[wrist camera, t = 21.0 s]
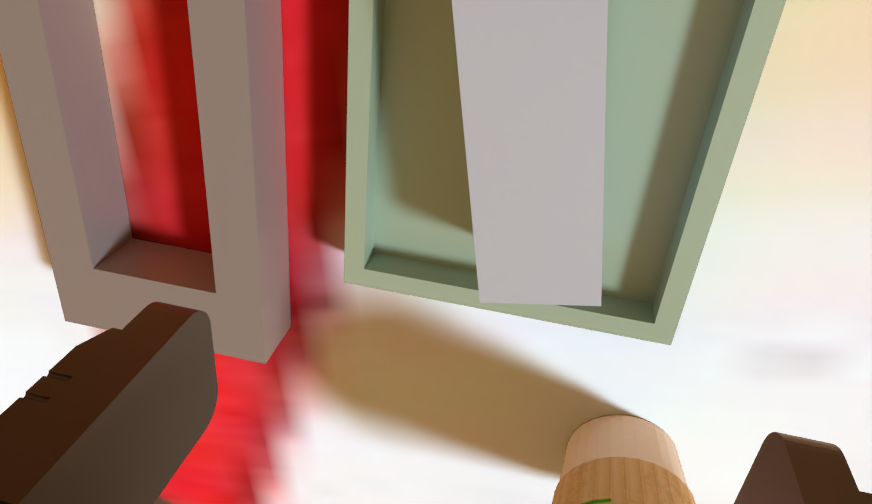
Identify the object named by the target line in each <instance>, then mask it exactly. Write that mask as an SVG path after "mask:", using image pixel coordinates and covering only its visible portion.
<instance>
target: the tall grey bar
mask: <svg viewBox="0 0 872 504" xmlns="http://www.w3.org/2000/svg"><path fill="white" fill-rule="evenodd" d="M452 10H453V20H454V31H455V42H456V53H457V63H458V74H459V85H460V96H461V106H462V117H463V128H464V139H465V149H466V160H467V171H468V182H469V192H470V203H471V214H472V224H473V235H474V246H475V257H476V267H477V278H478V289H479V300H480V302H481V303H513V304H545V305H576V306H601V294H602V248H603V203H604V158H605V112H606V67H607V22H608V0H452Z"/></svg>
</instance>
